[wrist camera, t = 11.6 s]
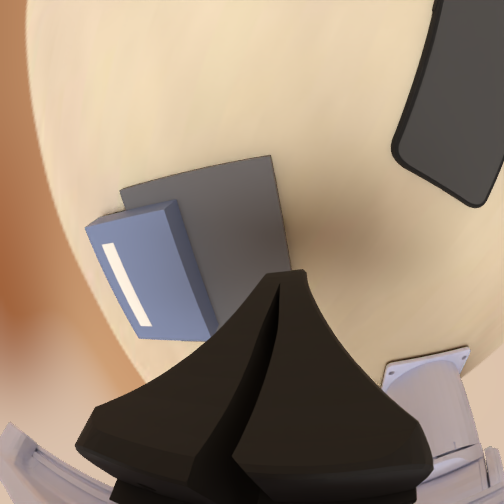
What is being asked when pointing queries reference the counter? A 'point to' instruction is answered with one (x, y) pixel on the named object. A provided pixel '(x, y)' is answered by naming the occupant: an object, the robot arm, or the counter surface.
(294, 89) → the counter surface
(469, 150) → the smartphone
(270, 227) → the mat
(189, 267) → the block
